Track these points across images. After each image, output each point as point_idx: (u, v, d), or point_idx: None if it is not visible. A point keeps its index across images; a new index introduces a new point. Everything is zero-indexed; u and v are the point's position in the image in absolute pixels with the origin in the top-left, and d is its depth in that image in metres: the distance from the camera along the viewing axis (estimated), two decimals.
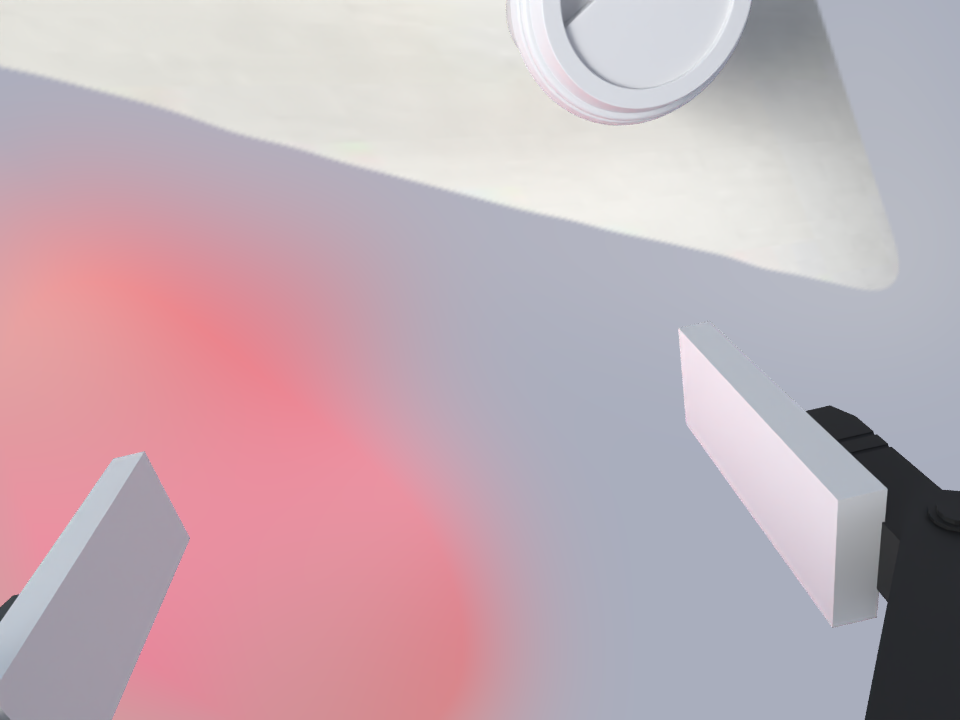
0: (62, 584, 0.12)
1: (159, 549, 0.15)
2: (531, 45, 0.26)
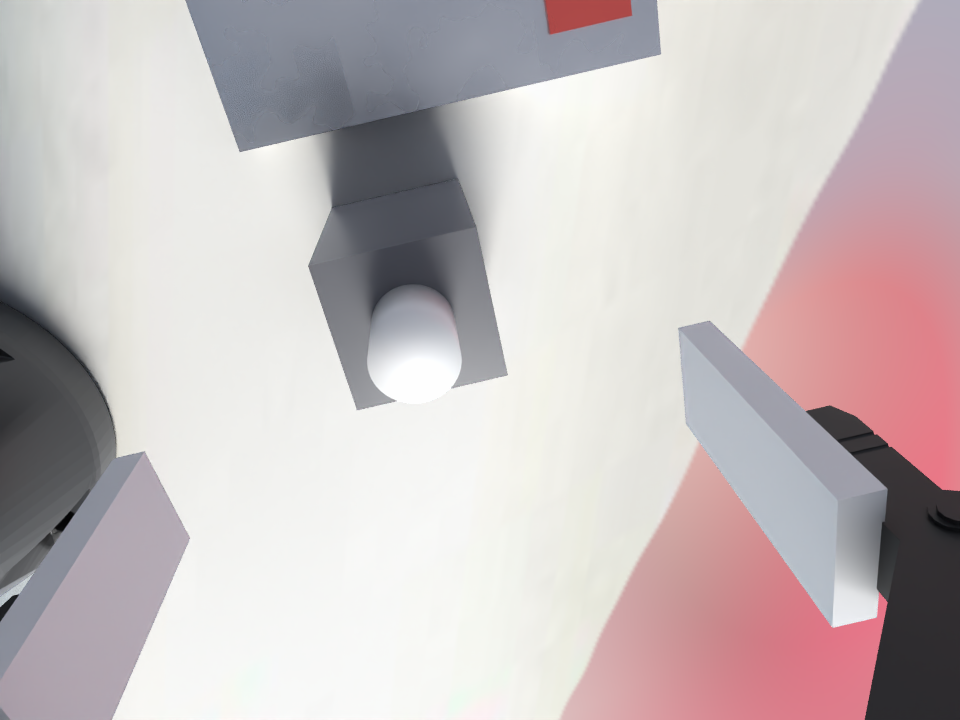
0: (62, 584, 0.12)
1: (159, 549, 0.15)
2: None
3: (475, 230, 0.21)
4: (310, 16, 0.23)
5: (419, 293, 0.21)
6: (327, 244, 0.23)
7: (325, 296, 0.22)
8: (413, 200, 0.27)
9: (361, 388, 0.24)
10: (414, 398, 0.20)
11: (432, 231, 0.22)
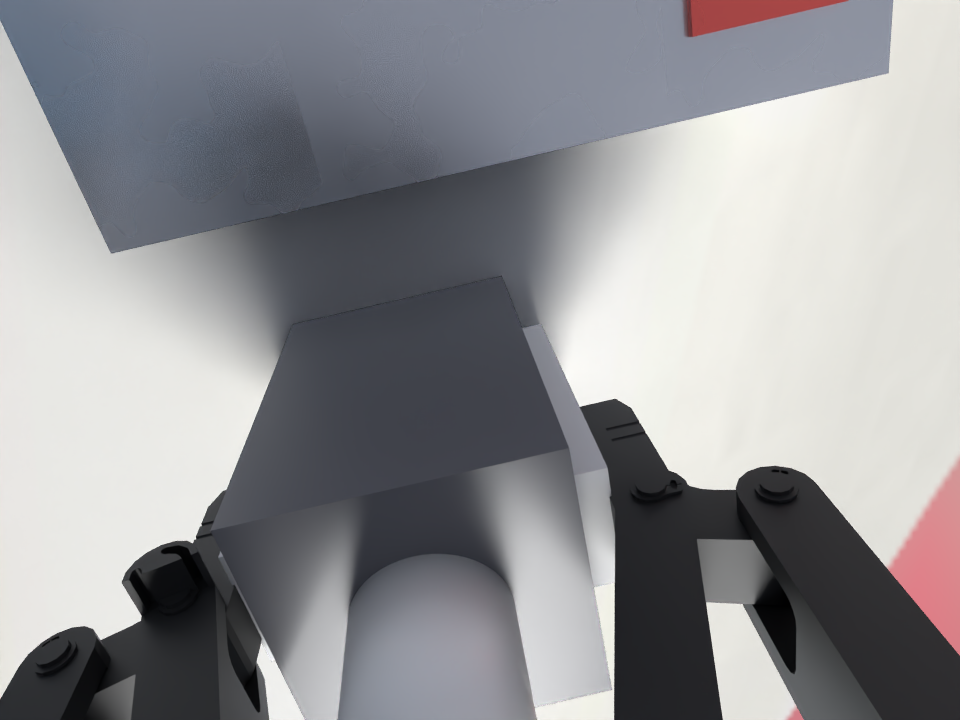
0: None
1: None
2: None
3: (567, 454, 0.10)
4: (230, 1, 0.12)
5: (447, 593, 0.10)
6: (263, 447, 0.12)
7: (250, 582, 0.11)
8: (429, 327, 0.15)
9: None
10: None
11: (474, 444, 0.11)
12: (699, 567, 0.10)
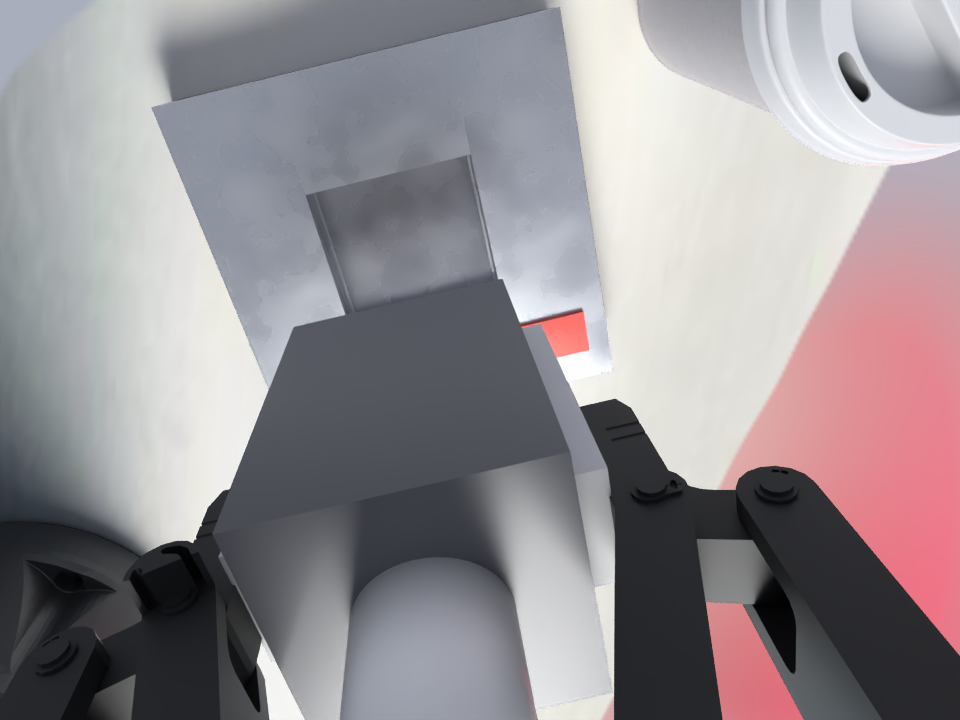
0: None
1: None
2: None
3: (568, 458, 0.10)
4: None
5: (449, 596, 0.10)
6: (265, 450, 0.12)
7: (252, 585, 0.11)
8: (430, 329, 0.15)
9: None
10: None
11: (476, 448, 0.11)
12: (699, 567, 0.10)
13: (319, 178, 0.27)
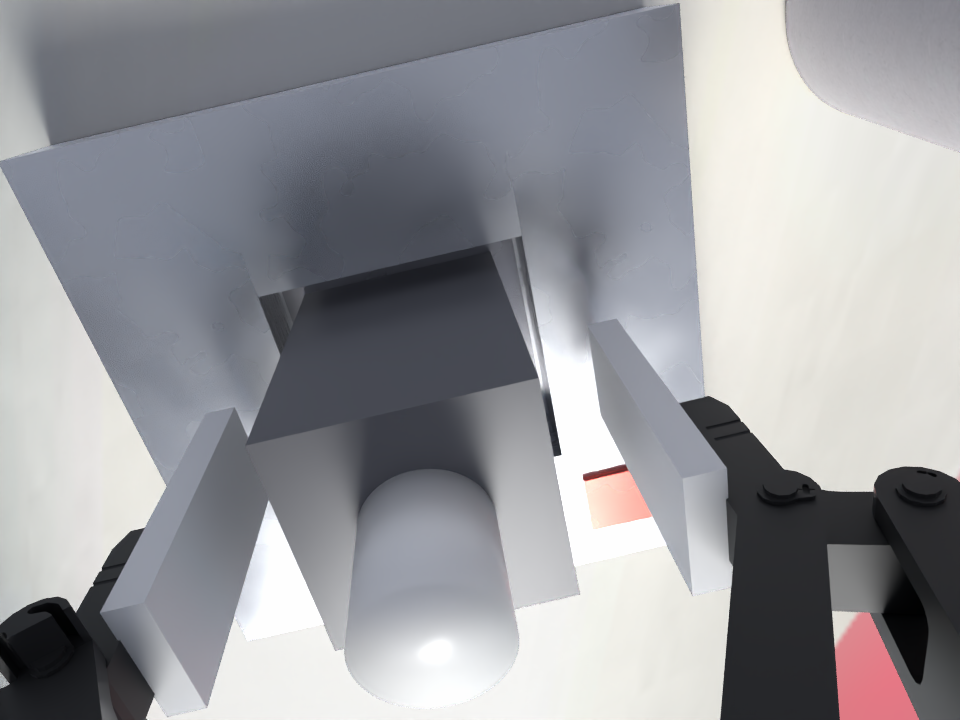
0: (185, 516, 0.13)
1: (250, 497, 0.17)
2: None
3: (537, 383, 0.12)
4: None
5: (439, 495, 0.12)
6: (285, 386, 0.14)
7: (277, 491, 0.13)
8: (425, 292, 0.17)
9: (341, 621, 0.14)
10: (430, 700, 0.11)
11: (462, 378, 0.13)
12: (828, 580, 0.09)
13: (280, 272, 0.17)
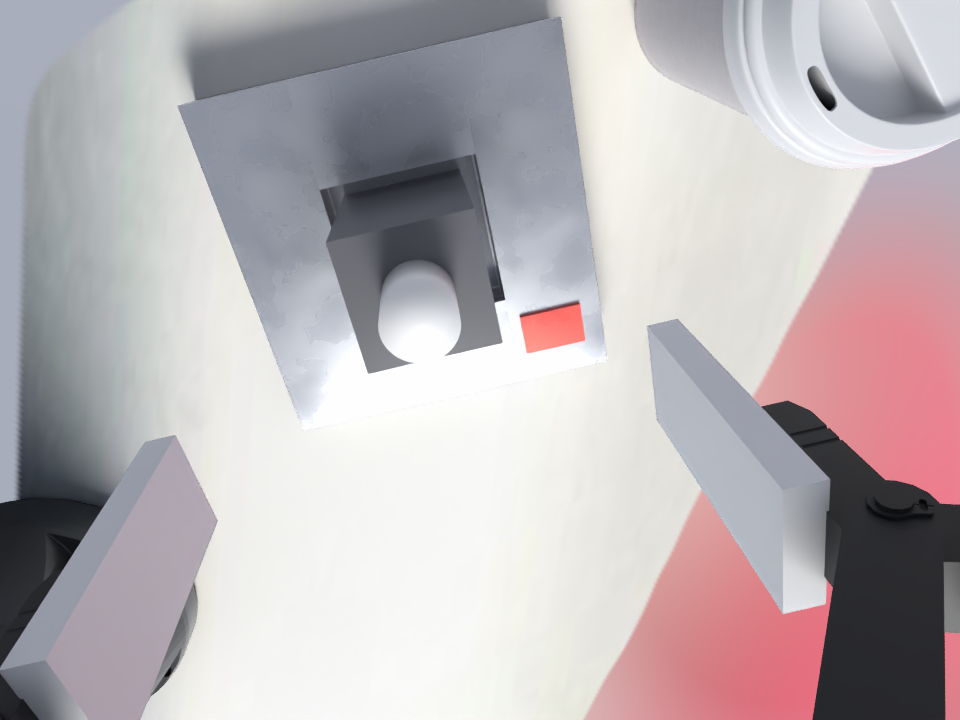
0: (105, 558, 0.12)
1: (190, 530, 0.16)
2: (930, 148, 0.19)
3: (473, 211, 0.24)
4: (356, 348, 0.33)
5: (424, 267, 0.24)
6: (341, 225, 0.26)
7: (340, 270, 0.25)
8: (418, 187, 0.29)
9: (372, 354, 0.26)
10: (419, 357, 0.23)
11: (436, 212, 0.25)
12: (942, 605, 0.08)
13: (333, 174, 0.29)
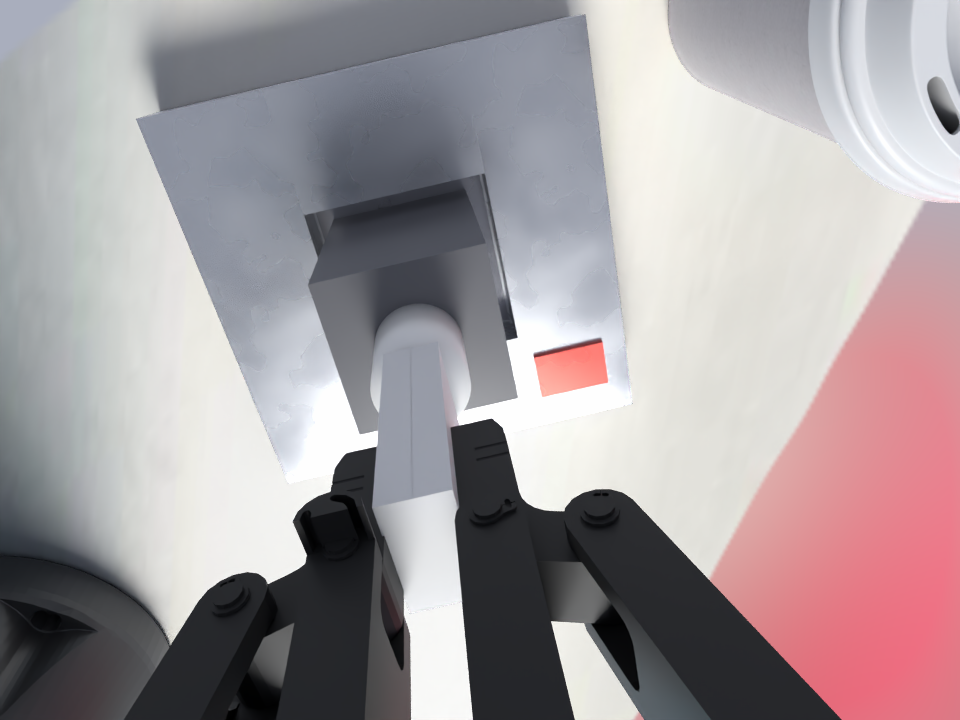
0: (412, 433, 0.14)
1: None
2: None
3: (485, 247, 0.20)
4: None
5: (425, 314, 0.20)
6: (328, 260, 0.22)
7: (326, 316, 0.21)
8: (418, 212, 0.25)
9: (364, 412, 0.22)
10: None
11: (439, 247, 0.21)
12: (539, 578, 0.10)
13: (319, 197, 0.25)
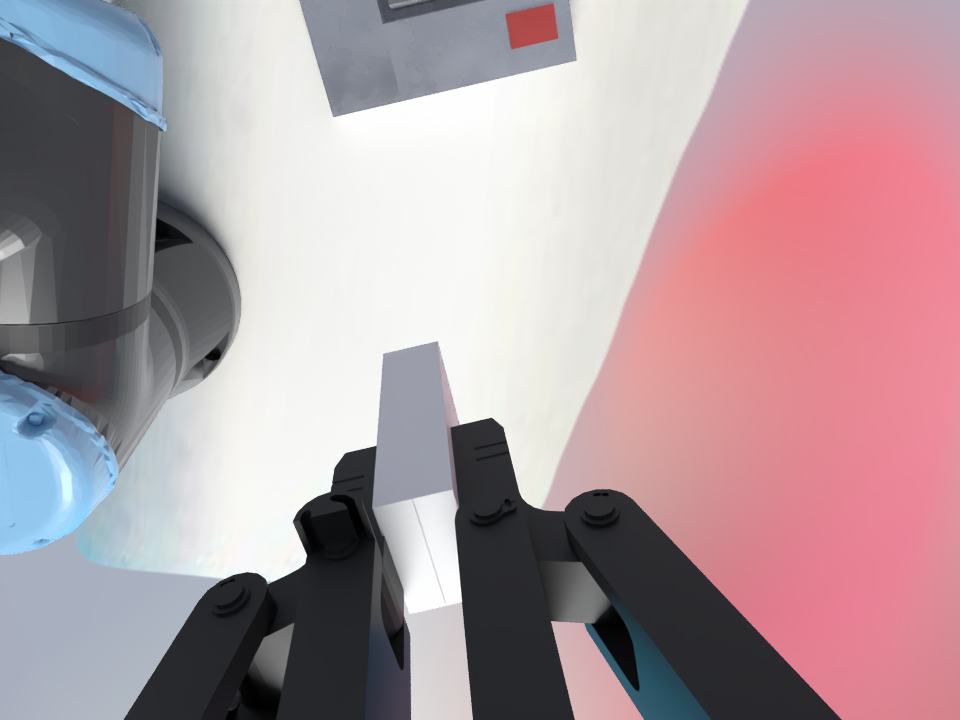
0: (412, 433, 0.14)
1: None
2: None
3: None
4: (376, 39, 0.41)
5: None
6: None
7: None
8: None
9: None
10: None
11: None
12: (539, 578, 0.10)
13: None
